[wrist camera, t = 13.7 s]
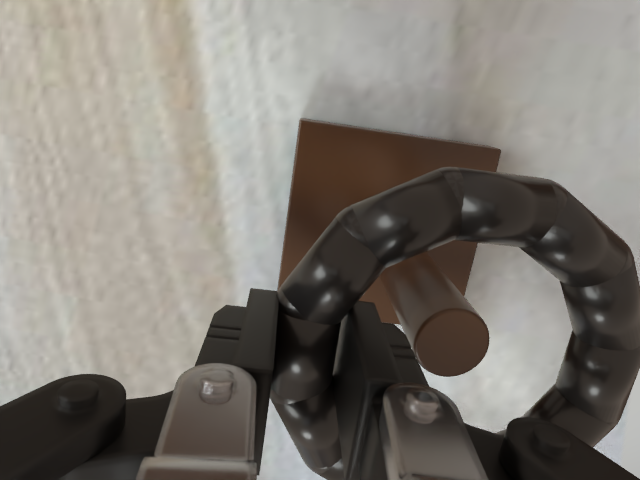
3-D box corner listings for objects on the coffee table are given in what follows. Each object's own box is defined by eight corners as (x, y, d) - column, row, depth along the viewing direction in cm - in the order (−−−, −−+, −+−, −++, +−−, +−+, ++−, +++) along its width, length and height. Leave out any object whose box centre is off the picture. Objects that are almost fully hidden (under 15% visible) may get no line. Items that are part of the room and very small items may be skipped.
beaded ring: (292, 142, 11) (293, 151, 9) (664, 190, 12) (721, 205, 10) (254, 471, 13) (250, 520, 12) (559, 487, 14) (592, 535, 13)
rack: (299, 117, 21) (302, 144, 10) (488, 146, 22) (676, 198, 11) (276, 298, 24) (259, 470, 13) (446, 317, 25) (565, 495, 14)
